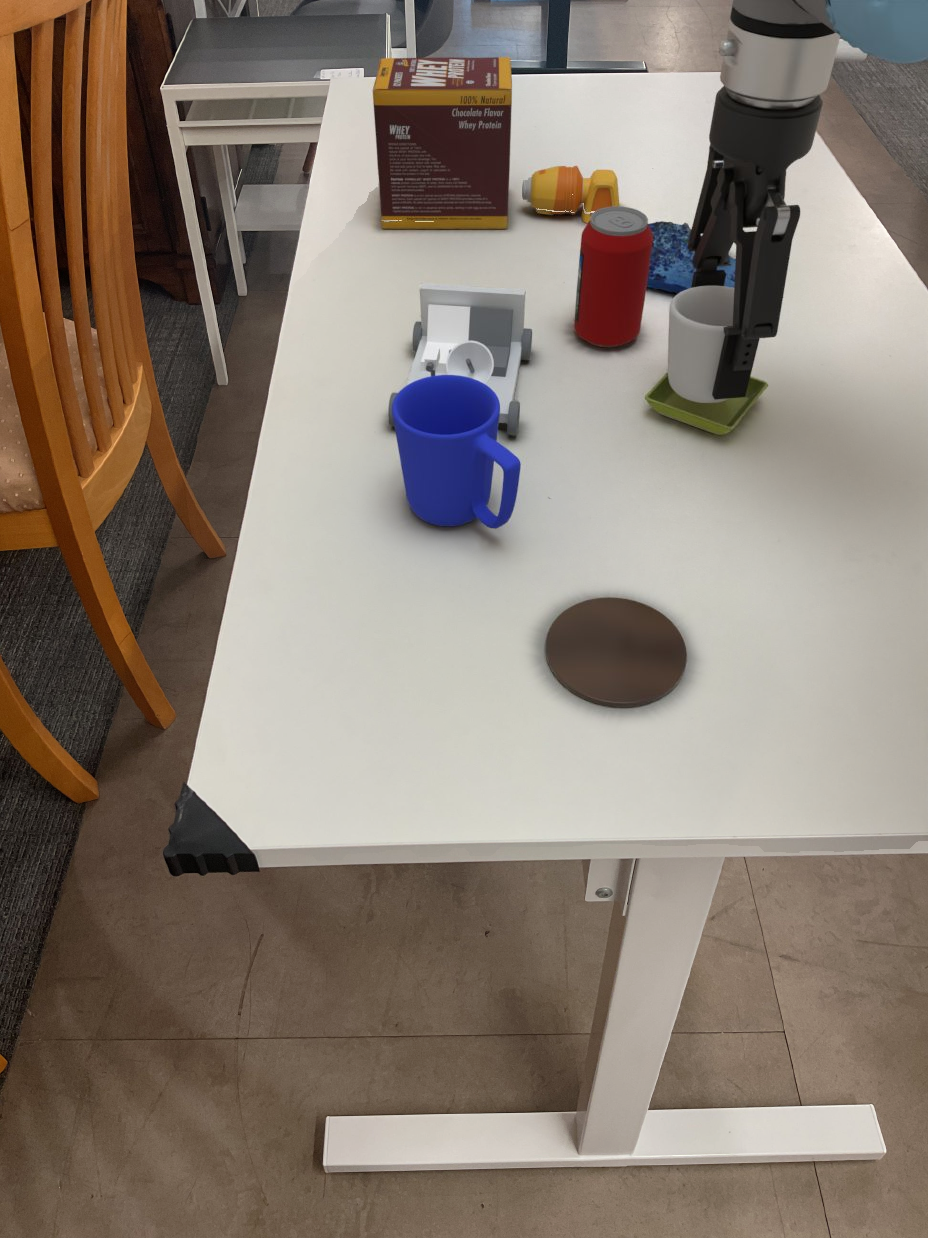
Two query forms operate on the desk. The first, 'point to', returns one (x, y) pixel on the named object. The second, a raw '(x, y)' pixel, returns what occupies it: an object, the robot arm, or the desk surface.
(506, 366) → the toy car
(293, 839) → the desk surface
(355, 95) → the desk surface
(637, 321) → the beverage can
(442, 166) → the supplement box
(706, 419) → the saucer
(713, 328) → the cup
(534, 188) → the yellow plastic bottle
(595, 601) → the coaster
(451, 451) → the mug
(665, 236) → the rock
